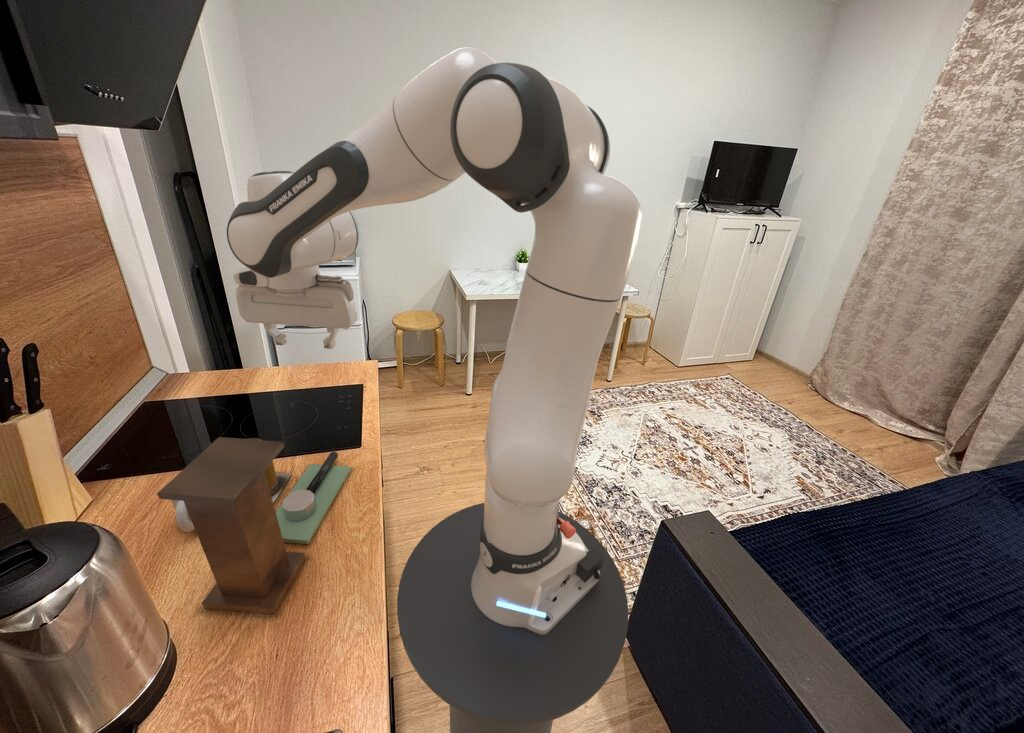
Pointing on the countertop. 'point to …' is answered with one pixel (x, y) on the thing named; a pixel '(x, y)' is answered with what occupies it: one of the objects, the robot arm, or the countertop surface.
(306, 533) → the mat
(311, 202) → the robot arm
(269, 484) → the condiment
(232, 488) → the stand
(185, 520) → the cup
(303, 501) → the measuring scoop
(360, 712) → the countertop surface
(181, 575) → the countertop surface
